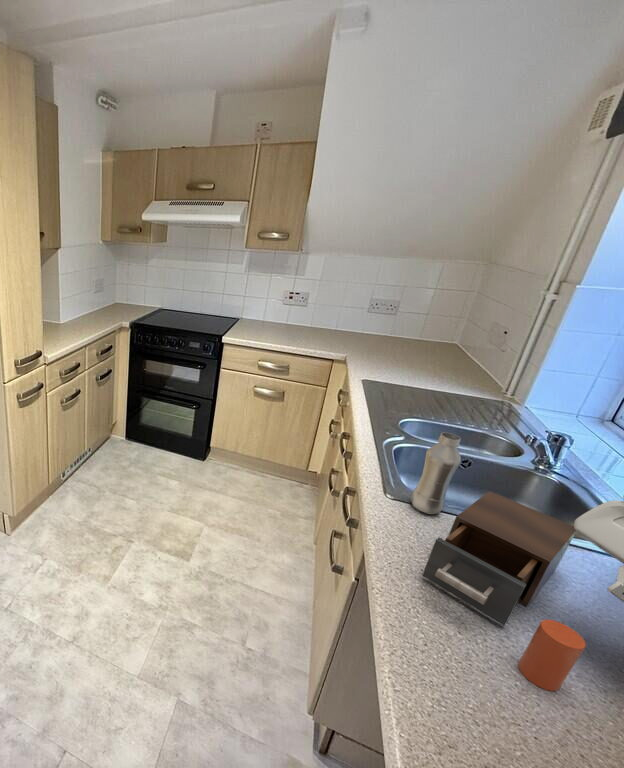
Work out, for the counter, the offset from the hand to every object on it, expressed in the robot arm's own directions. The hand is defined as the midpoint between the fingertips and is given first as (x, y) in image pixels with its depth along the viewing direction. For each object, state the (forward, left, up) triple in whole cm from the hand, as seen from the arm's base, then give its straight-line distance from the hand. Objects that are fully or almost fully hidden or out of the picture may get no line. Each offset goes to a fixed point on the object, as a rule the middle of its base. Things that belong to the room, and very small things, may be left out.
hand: (620, 599), depth 60 cm
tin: (+3, +8, -14) cm, 16 cm away
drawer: (+15, -2, -13) cm, 20 cm away
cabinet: (+15, -15, -14) cm, 25 cm away
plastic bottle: (+31, -22, -14) cm, 40 cm away
